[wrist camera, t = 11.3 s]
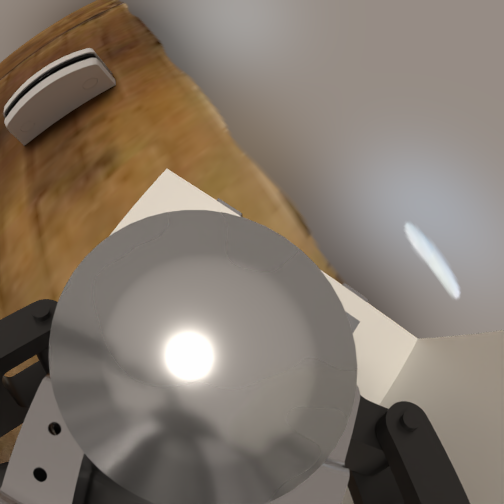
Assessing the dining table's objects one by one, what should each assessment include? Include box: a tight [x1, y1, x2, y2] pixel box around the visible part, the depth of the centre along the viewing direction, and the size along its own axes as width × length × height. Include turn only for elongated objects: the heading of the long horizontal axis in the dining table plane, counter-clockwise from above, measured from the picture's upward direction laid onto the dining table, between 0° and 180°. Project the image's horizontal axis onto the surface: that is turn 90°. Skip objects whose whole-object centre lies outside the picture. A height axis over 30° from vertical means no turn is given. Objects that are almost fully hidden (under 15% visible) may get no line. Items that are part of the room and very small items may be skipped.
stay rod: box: [49, 210, 357, 504], centre depth 8 cm, size 4×4×12 cm
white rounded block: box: [4, 48, 116, 146], centre depth 27 cm, size 17×5×10 cm, turn 120°
